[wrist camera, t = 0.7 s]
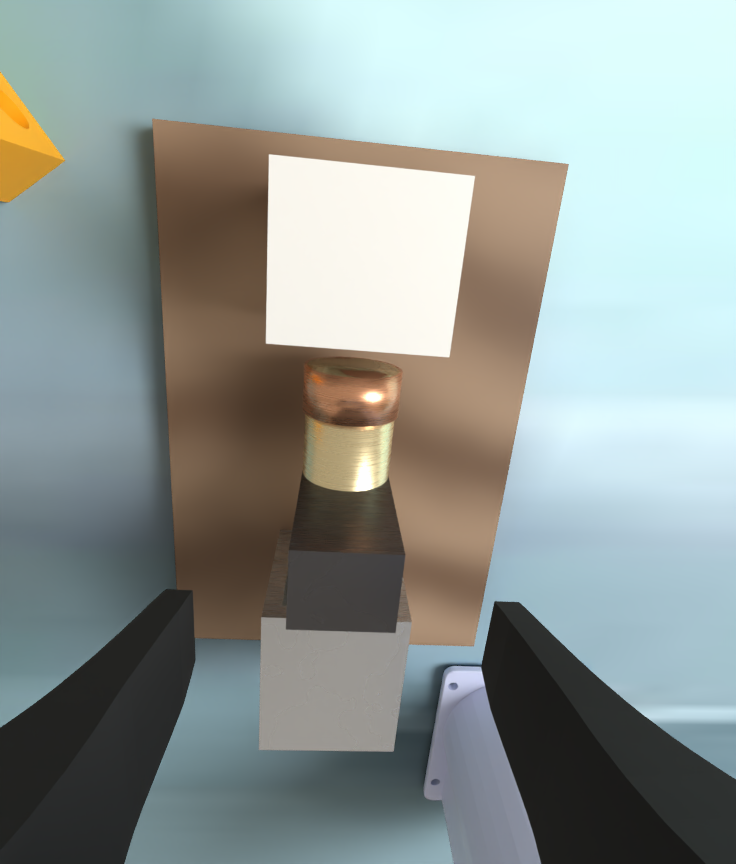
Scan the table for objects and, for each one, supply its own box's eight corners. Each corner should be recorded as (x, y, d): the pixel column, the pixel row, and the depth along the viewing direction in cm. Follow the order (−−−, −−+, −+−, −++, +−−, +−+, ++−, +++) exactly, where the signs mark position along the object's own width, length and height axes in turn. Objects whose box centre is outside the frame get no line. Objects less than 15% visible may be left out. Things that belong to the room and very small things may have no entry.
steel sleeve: (381, 643, 24) (393, 751, 19) (276, 640, 23) (258, 749, 18) (395, 534, 22) (412, 622, 17) (280, 529, 21) (261, 617, 16)
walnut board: (468, 631, 25) (473, 646, 24) (185, 622, 24) (179, 637, 23) (556, 168, 18) (568, 163, 17) (162, 126, 17) (152, 118, 16)
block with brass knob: (365, 656, 22) (375, 813, 16) (293, 655, 22) (275, 812, 16) (397, 360, 18) (427, 418, 12) (307, 353, 18) (289, 408, 11)
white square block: (419, 328, 19) (449, 357, 14) (286, 317, 18) (265, 343, 13) (435, 198, 17) (474, 175, 12) (290, 184, 17) (268, 154, 12)
